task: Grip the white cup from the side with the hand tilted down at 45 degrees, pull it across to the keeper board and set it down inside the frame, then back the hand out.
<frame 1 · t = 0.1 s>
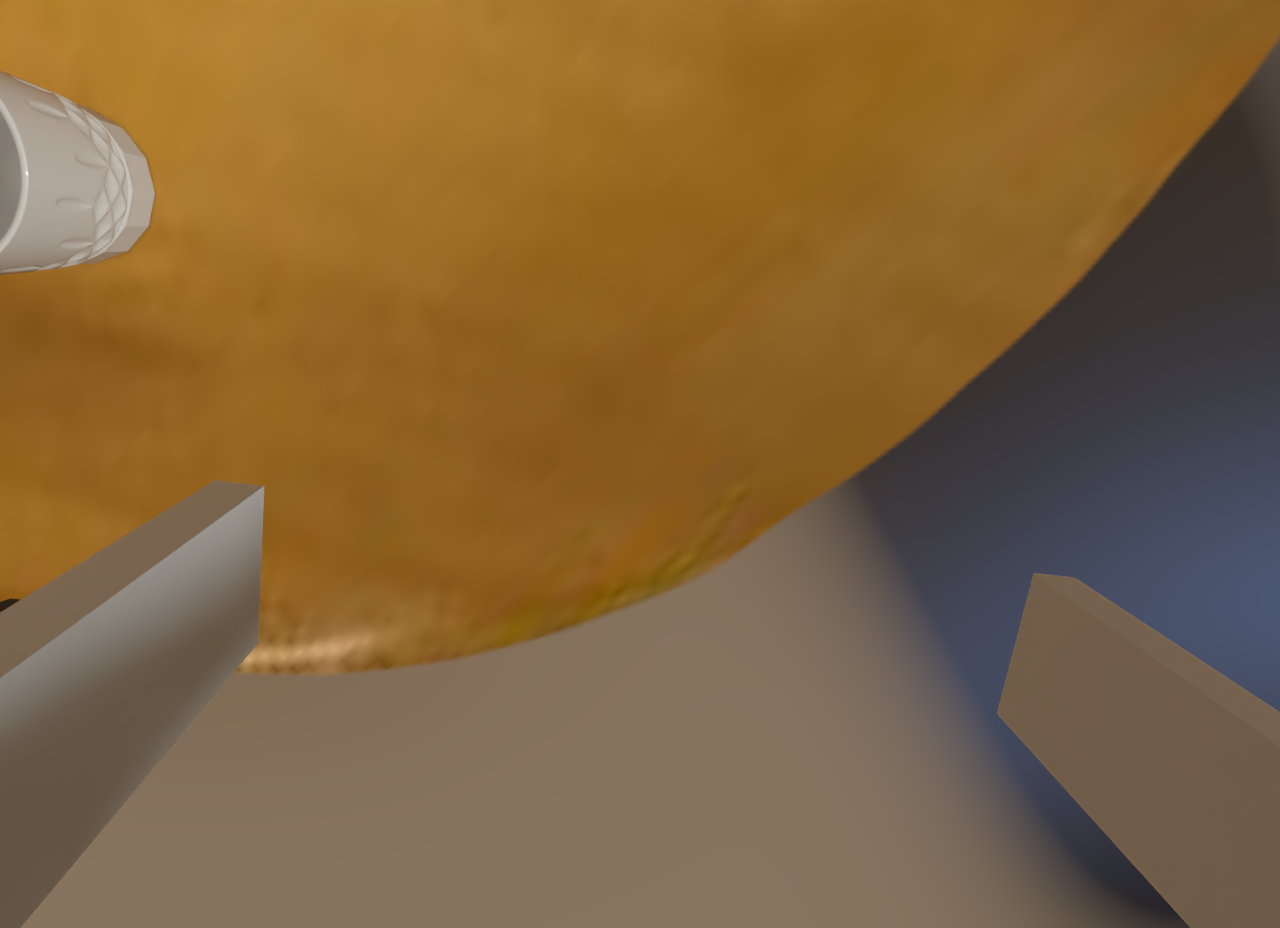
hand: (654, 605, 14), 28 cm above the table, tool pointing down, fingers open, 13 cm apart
white cup: (81, 186, 38), on the table
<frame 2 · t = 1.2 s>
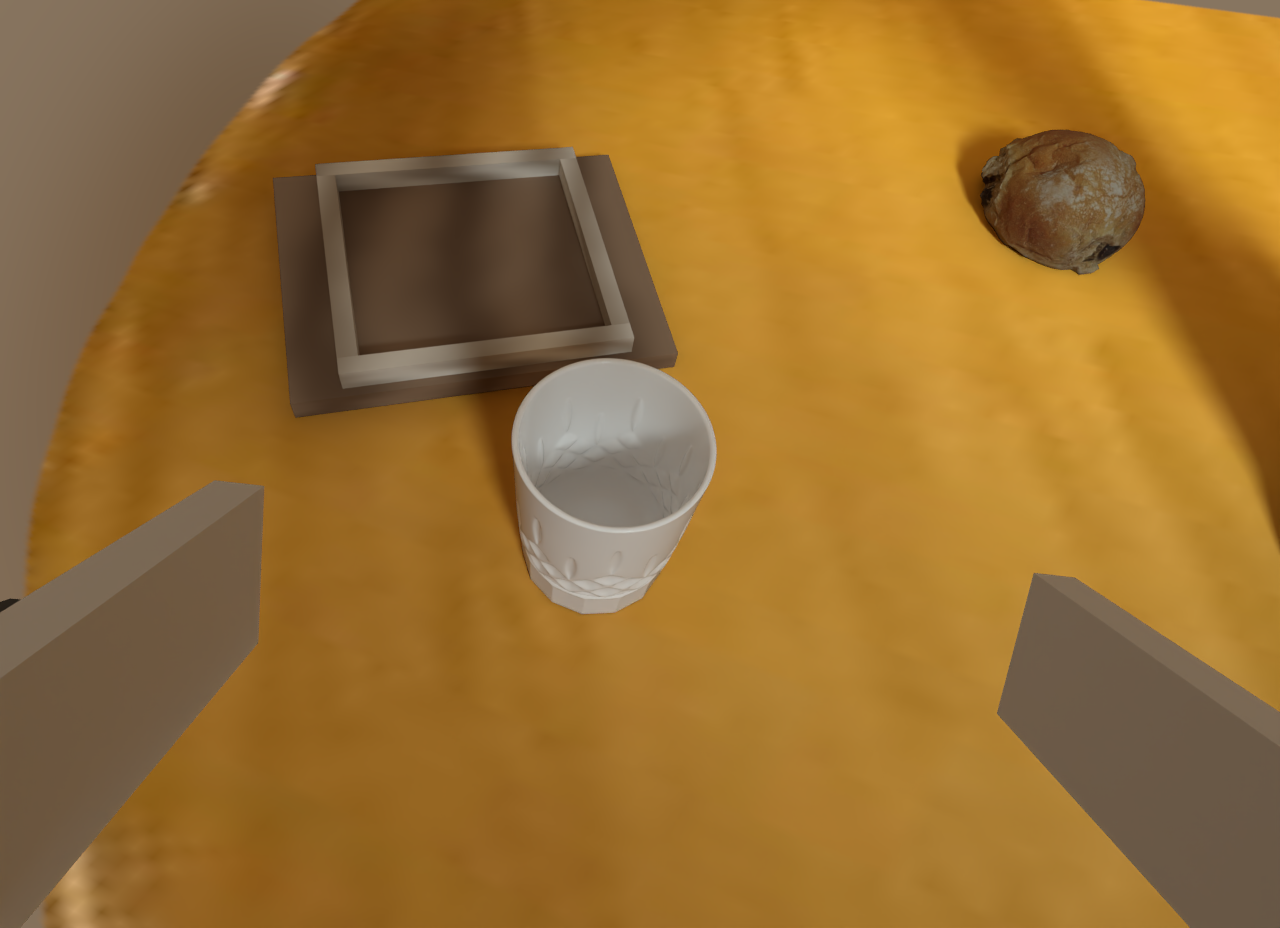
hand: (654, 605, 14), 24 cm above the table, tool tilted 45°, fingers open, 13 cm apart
white cup: (593, 551, 41), on the table
keeper board: (470, 278, 49), on the table
bread roll: (1039, 223, 58), on the table
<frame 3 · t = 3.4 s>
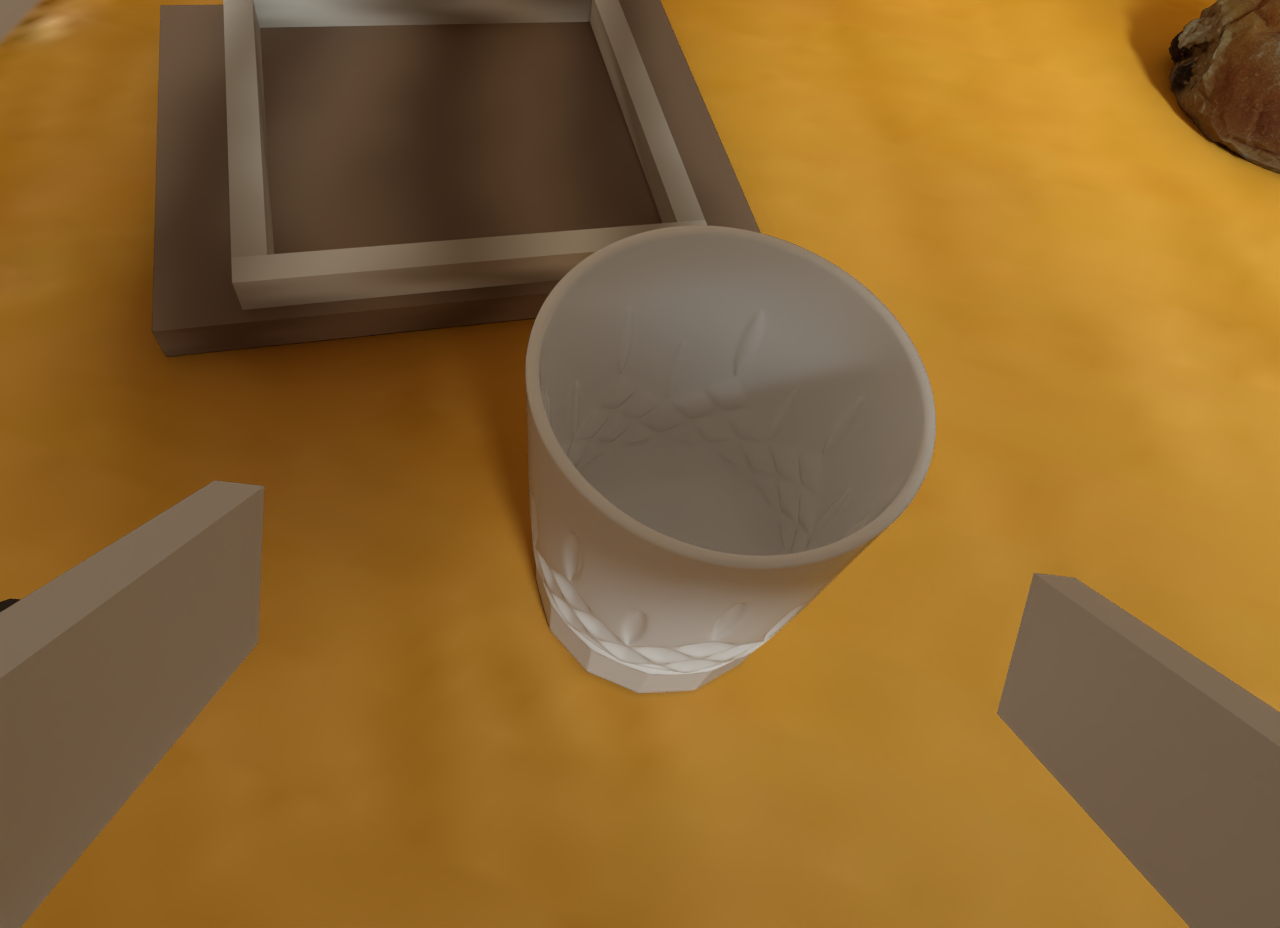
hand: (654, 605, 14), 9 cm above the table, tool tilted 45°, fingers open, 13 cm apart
white cup: (652, 582, 25), on the table
keeper board: (457, 159, 32), on the table
bread roll: (1250, 118, 42), on the table
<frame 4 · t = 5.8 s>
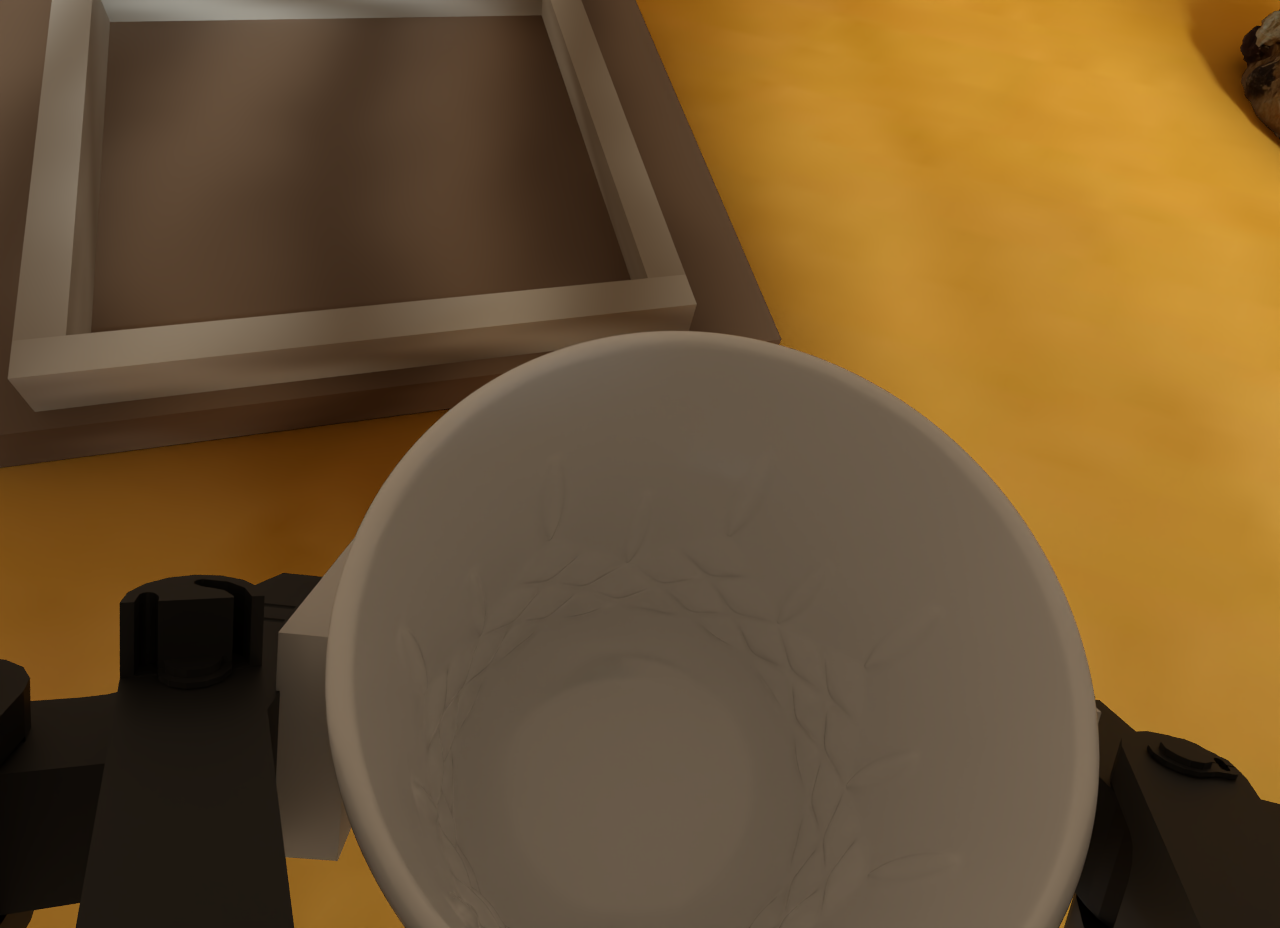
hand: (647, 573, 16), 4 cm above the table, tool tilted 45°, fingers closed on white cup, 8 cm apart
white cup: (611, 802, 17), on the table, touching gripper
keeper board: (365, 191, 25), on the table
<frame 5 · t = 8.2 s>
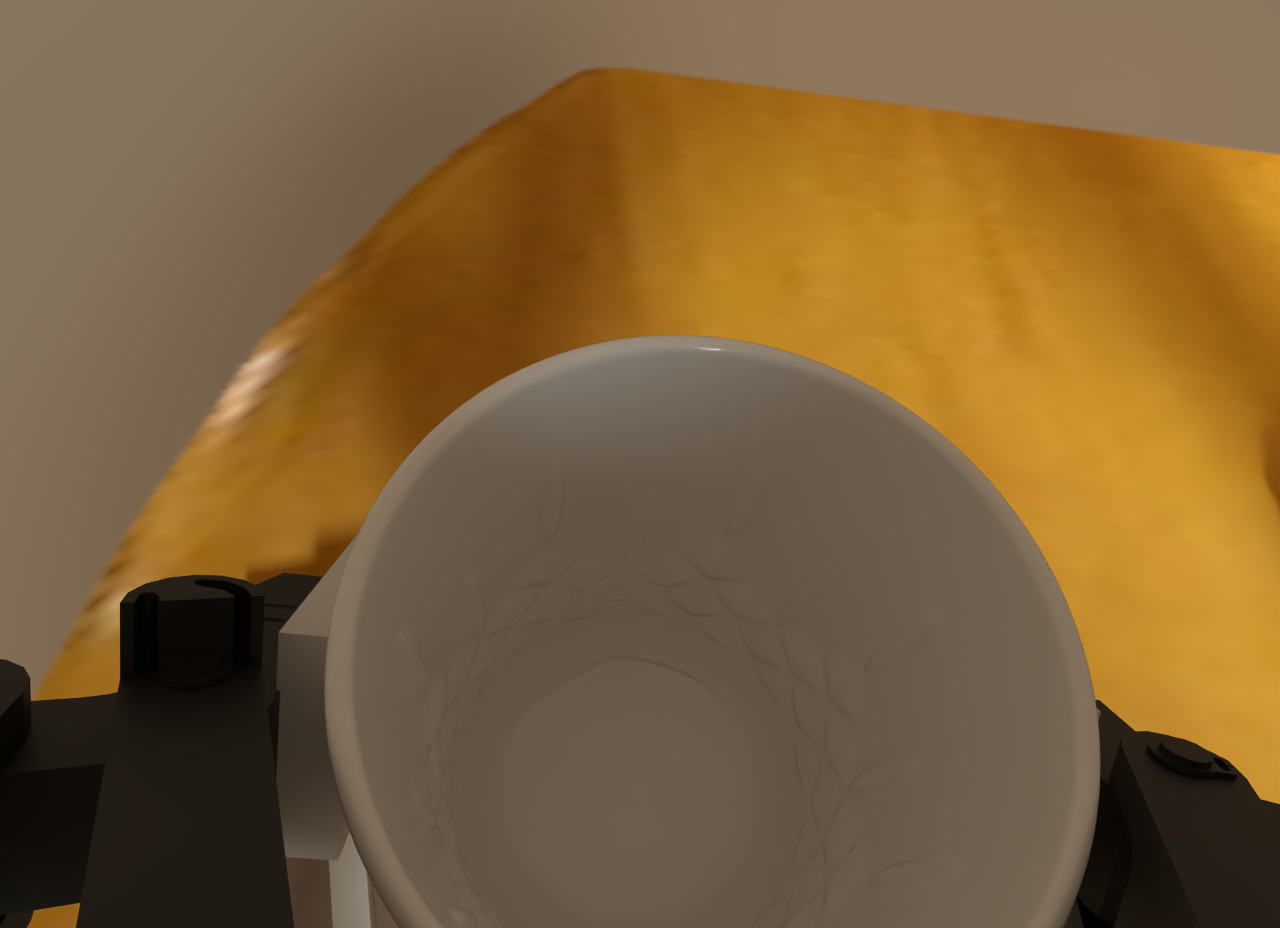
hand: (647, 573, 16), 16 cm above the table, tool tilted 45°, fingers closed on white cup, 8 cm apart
white cup: (611, 806, 17), point 12 cm above the table, touching gripper
keeper board: (570, 774, 29), on the table
when the fingers open (6 cm above the table, at t = 10.6 s): white cup drops 1 cm, resting on keeper board.
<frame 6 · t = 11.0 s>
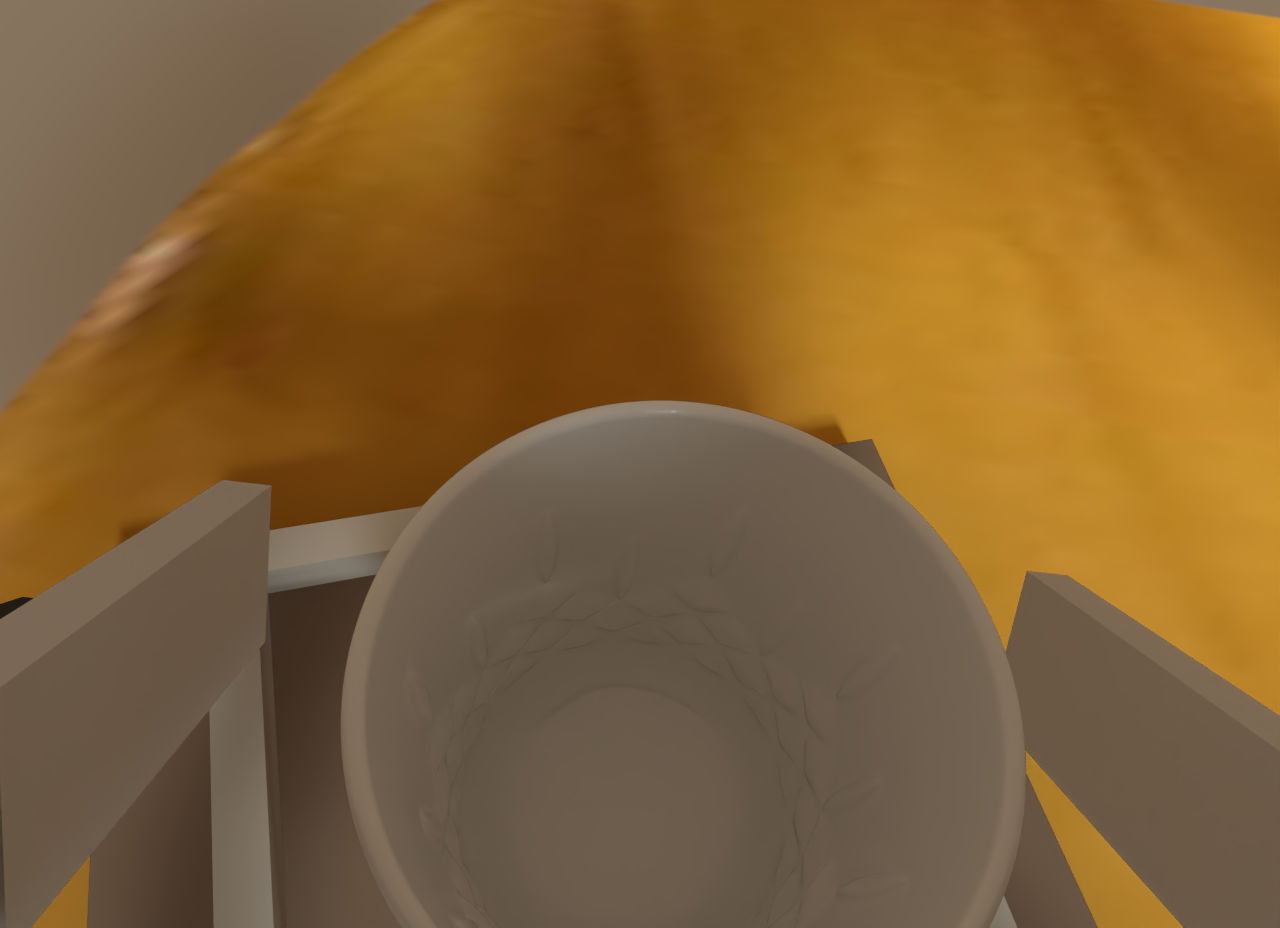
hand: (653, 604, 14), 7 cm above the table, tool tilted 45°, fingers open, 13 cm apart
white cup: (610, 822, 18), point 1 cm above the table, touching keeper board
keeper board: (598, 821, 19), on the table
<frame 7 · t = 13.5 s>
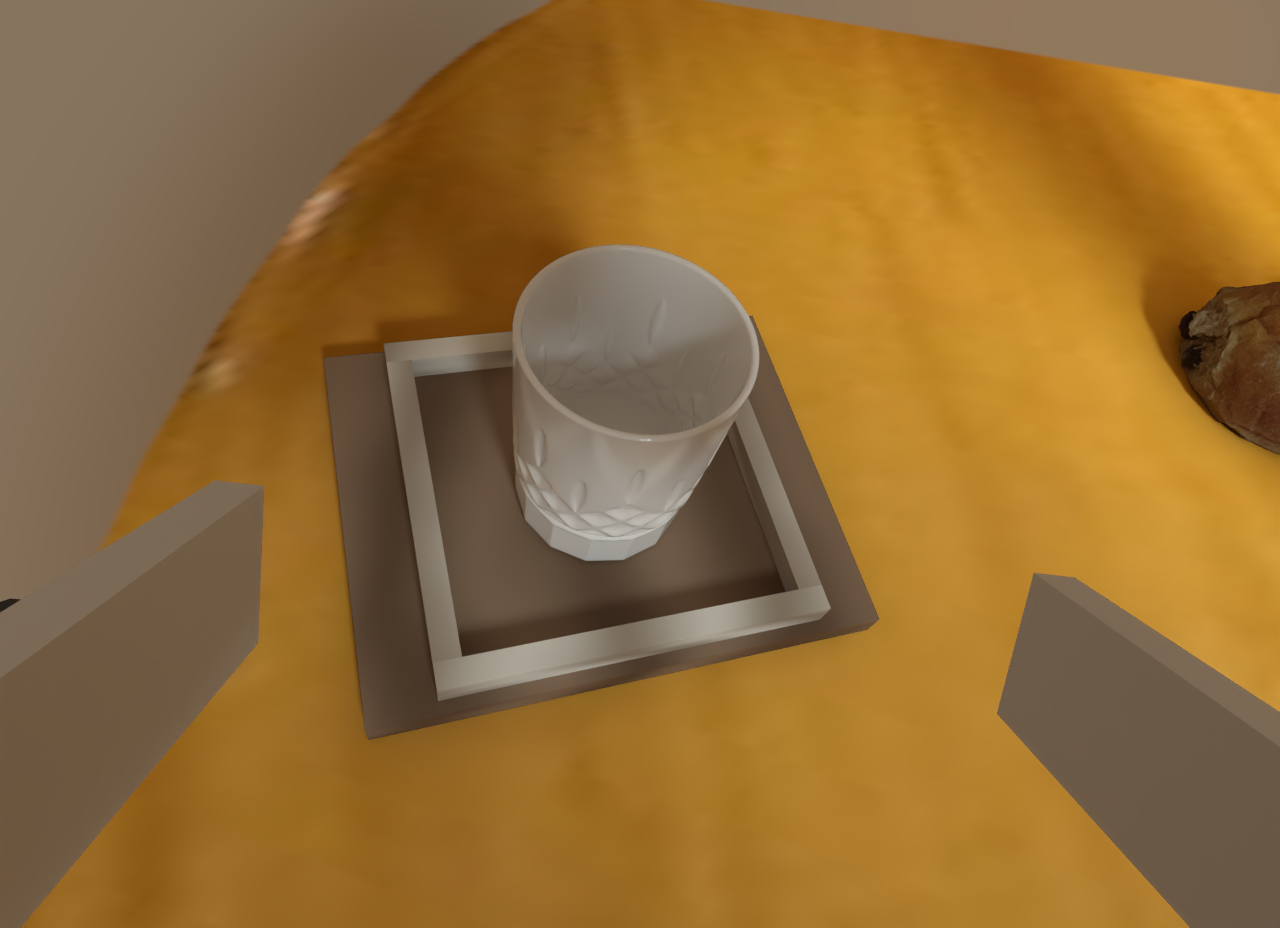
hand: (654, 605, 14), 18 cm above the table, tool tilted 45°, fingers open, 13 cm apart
white cup: (597, 491, 35), point 1 cm above the table, touching keeper board
keeper board: (590, 499, 36), on the table
bread roll: (1248, 388, 48), on the table
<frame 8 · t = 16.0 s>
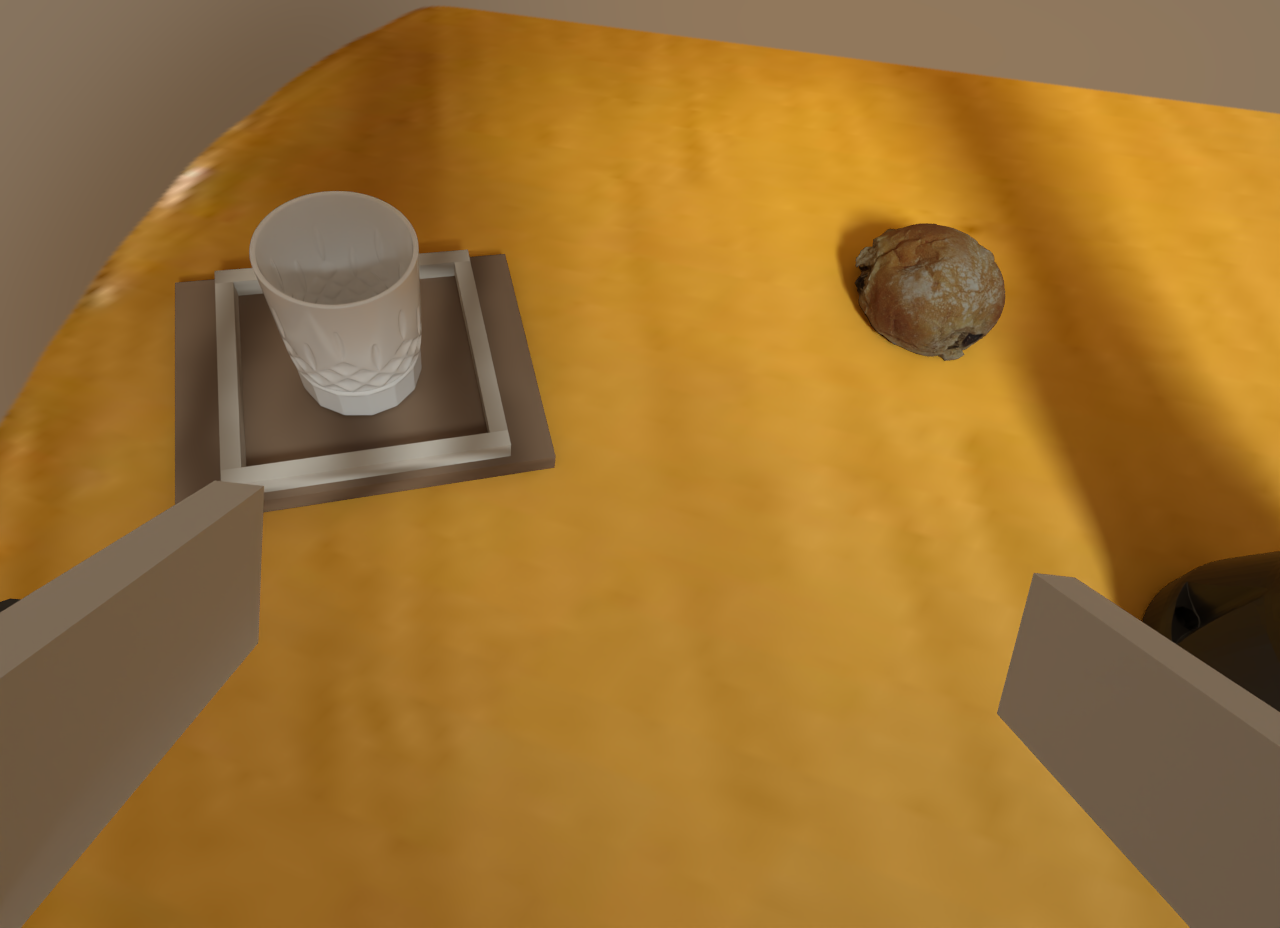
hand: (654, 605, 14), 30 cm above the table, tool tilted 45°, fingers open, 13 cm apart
white cup: (363, 372, 50), point 1 cm above the table, touching keeper board
keeper board: (363, 379, 51), on the table
bread roll: (912, 308, 61), on the table
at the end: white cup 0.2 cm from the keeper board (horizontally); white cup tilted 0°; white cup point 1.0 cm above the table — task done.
